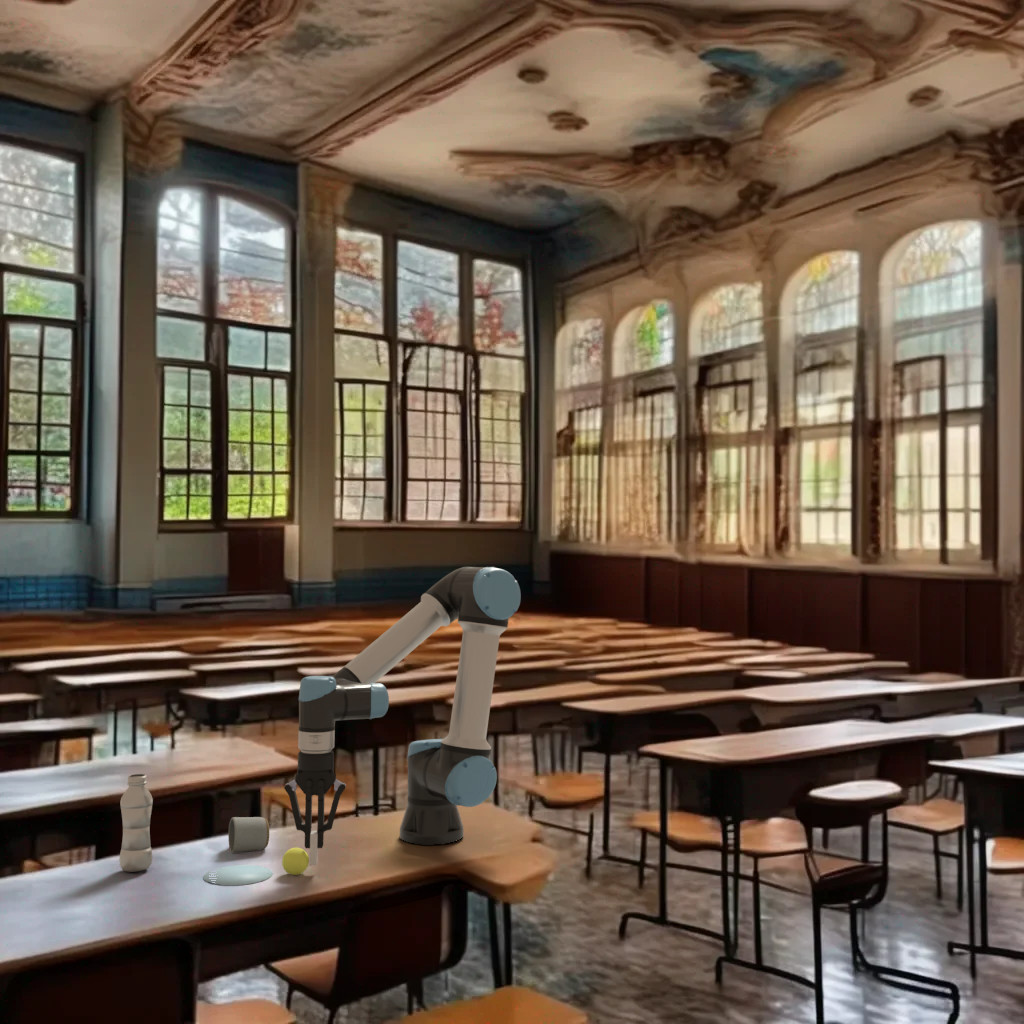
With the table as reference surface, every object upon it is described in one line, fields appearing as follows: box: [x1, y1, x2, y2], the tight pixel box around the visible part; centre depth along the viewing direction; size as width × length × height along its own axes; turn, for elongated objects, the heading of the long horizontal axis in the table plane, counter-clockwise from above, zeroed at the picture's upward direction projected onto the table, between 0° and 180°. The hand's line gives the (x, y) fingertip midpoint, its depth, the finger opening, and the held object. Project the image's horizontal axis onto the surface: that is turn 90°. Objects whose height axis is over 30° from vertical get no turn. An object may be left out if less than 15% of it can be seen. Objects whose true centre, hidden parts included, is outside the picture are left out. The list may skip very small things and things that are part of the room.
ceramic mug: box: [227, 816, 270, 854], centre depth 253 cm, size 11×8×8 cm
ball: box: [281, 847, 310, 876], centre depth 233 cm, size 6×6×6 cm
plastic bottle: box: [119, 773, 154, 873], centre depth 235 cm, size 6×7×20 cm
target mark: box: [203, 864, 274, 887], centre depth 232 cm, size 14×14×1 cm
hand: (313, 863), depth 233 cm, fingers closed
